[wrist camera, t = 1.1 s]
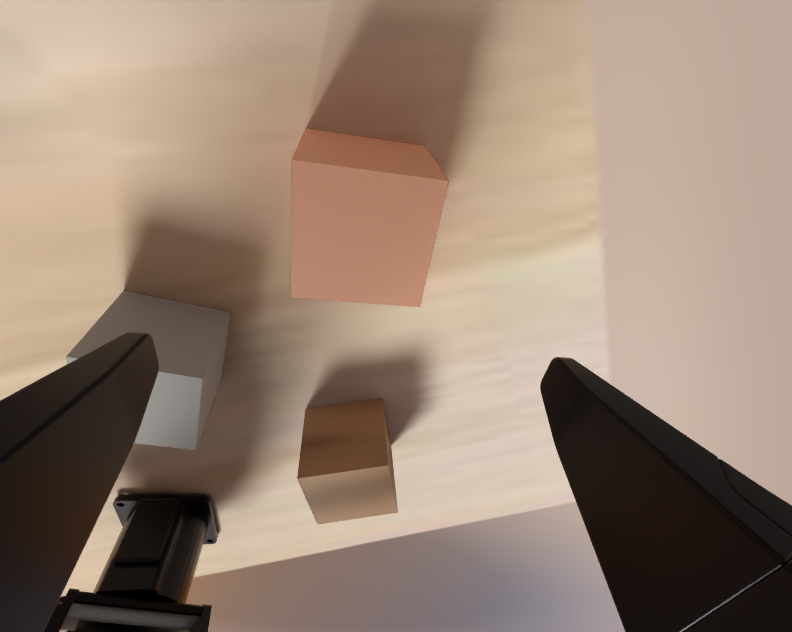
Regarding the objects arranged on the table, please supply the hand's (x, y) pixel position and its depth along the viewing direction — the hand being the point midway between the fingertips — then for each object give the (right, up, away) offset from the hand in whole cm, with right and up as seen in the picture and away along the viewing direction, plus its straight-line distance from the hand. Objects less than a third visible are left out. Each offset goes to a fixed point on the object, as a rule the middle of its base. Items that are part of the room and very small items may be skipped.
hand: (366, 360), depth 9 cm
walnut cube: (-2, -7, +18) cm, 20 cm away
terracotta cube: (-1, +6, +9) cm, 11 cm away
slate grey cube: (-11, 0, +13) cm, 17 cm away
